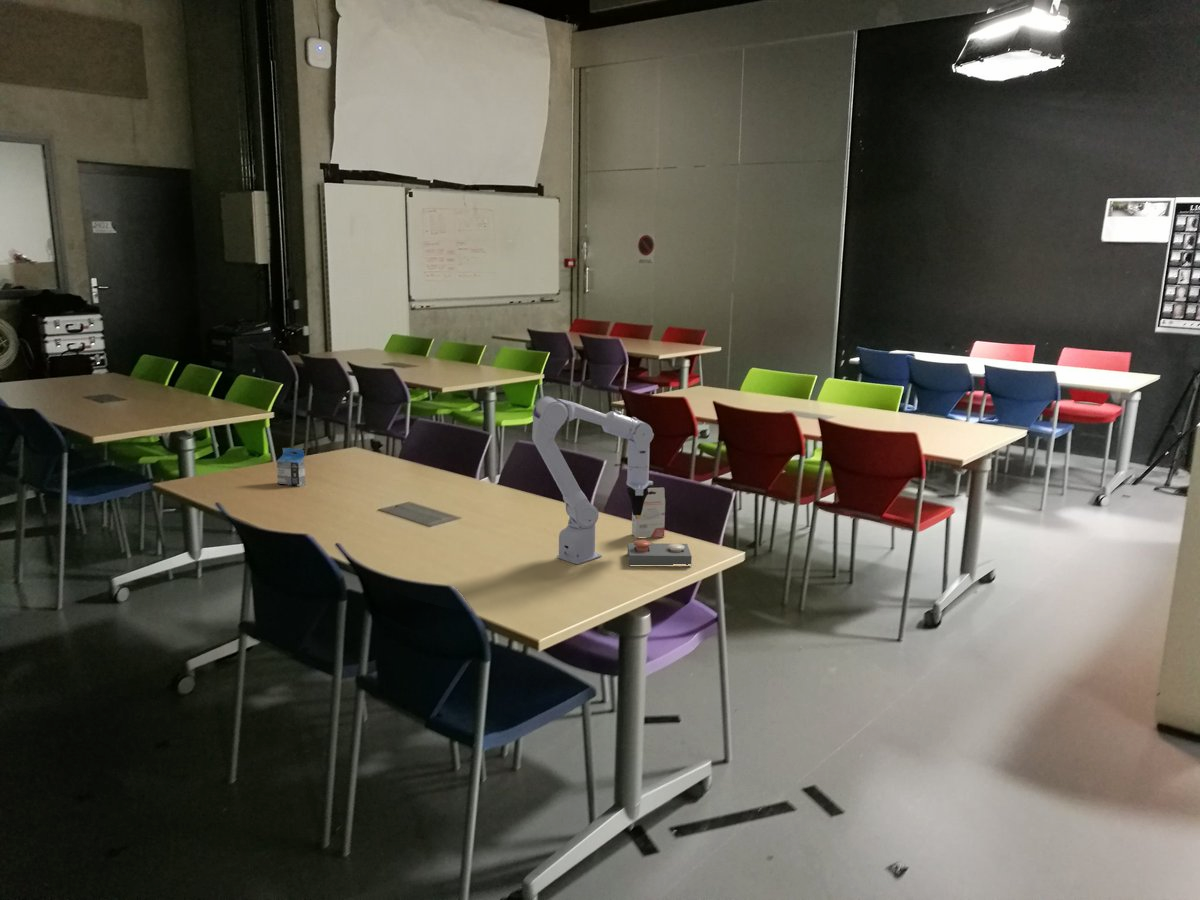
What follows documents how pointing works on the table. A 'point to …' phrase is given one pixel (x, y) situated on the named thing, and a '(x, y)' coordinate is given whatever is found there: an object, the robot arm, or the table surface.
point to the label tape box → (291, 467)
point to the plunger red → (642, 545)
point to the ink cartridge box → (651, 515)
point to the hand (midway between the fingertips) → (636, 514)
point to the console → (658, 555)
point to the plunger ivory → (676, 547)
